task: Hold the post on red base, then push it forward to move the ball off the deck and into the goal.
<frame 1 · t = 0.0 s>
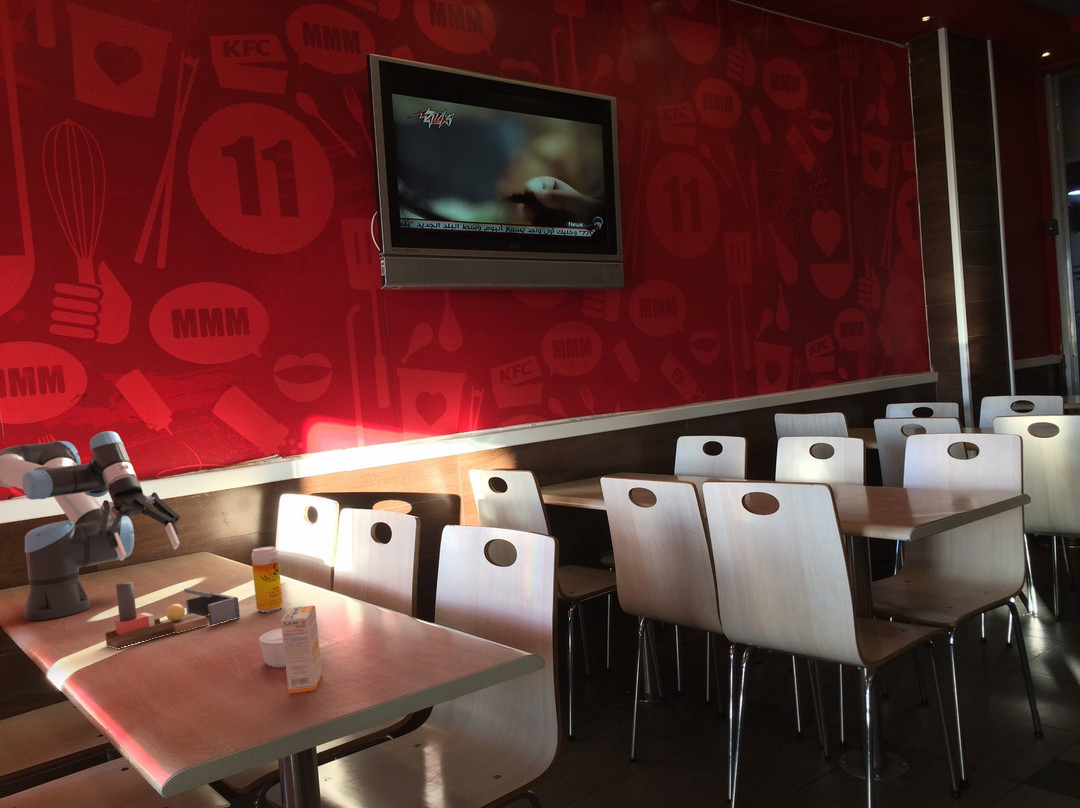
hand: (150, 552, 222), 15 cm above the table, tool tilted 35°, fingers open, 13 cm apart
deck: (184, 627, 204), on the table
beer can: (270, 610, 214), on the table
rail: (139, 640, 197), on the table
goal: (213, 619, 210), on the table
post on red base: (133, 606, 196), point 8 cm above the table, slide at 0.0 cm
supplement box: (305, 686, 156), on the table
ramekin: (290, 661, 172), on the table
ball: (175, 612, 203), point 4 cm above the table, touching deck
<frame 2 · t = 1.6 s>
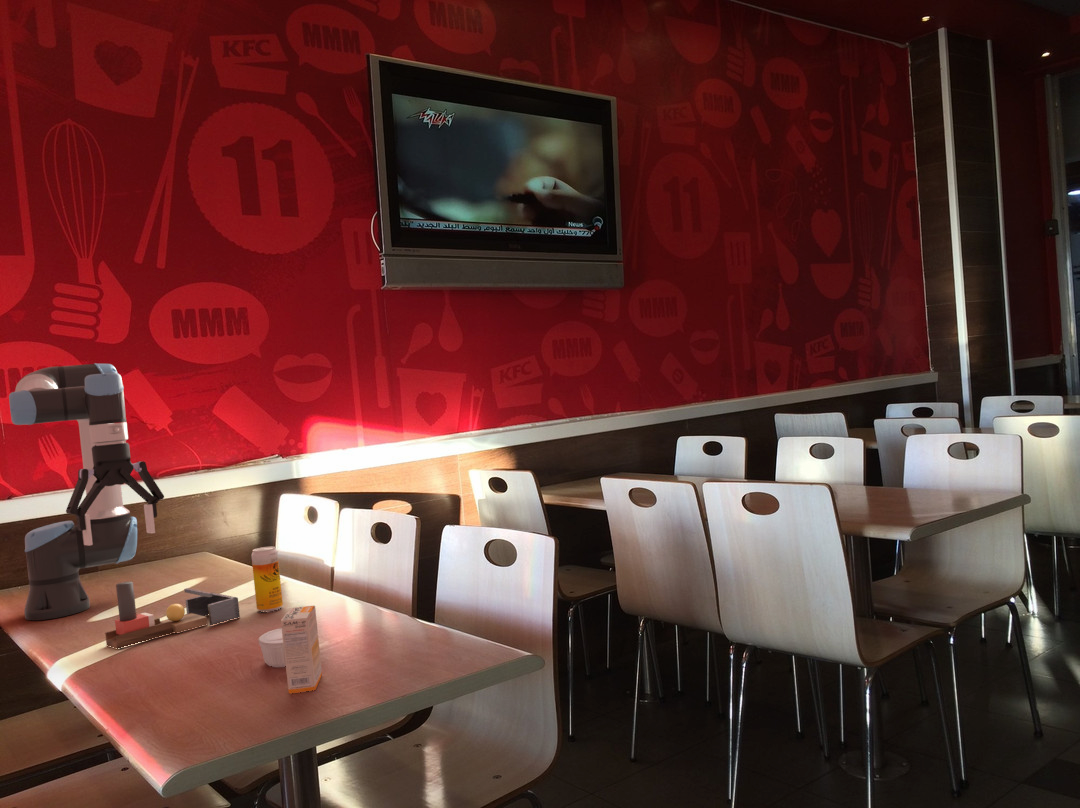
hand: (120, 539, 195), 23 cm above the table, tool pointing down, fingers open, 13 cm apart
nothing on the table moved.
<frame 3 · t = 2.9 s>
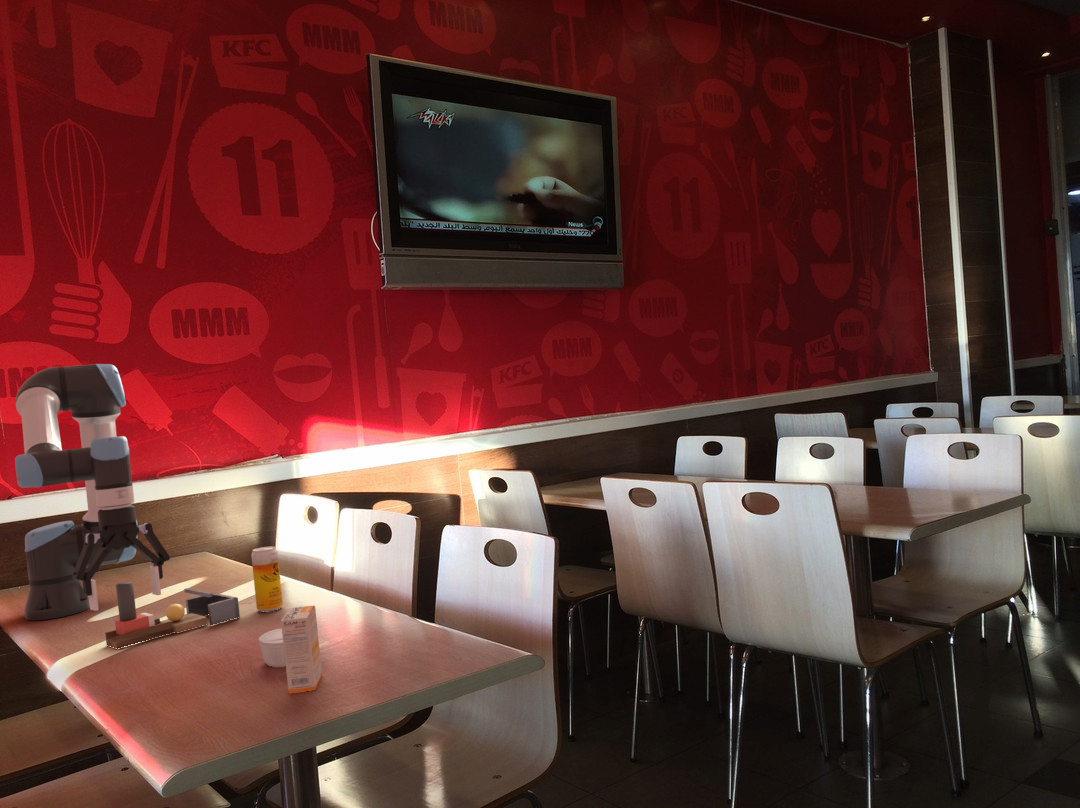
hand: (126, 602, 195), 9 cm above the table, tool pointing down, fingers open, 13 cm apart
nothing on the table moved.
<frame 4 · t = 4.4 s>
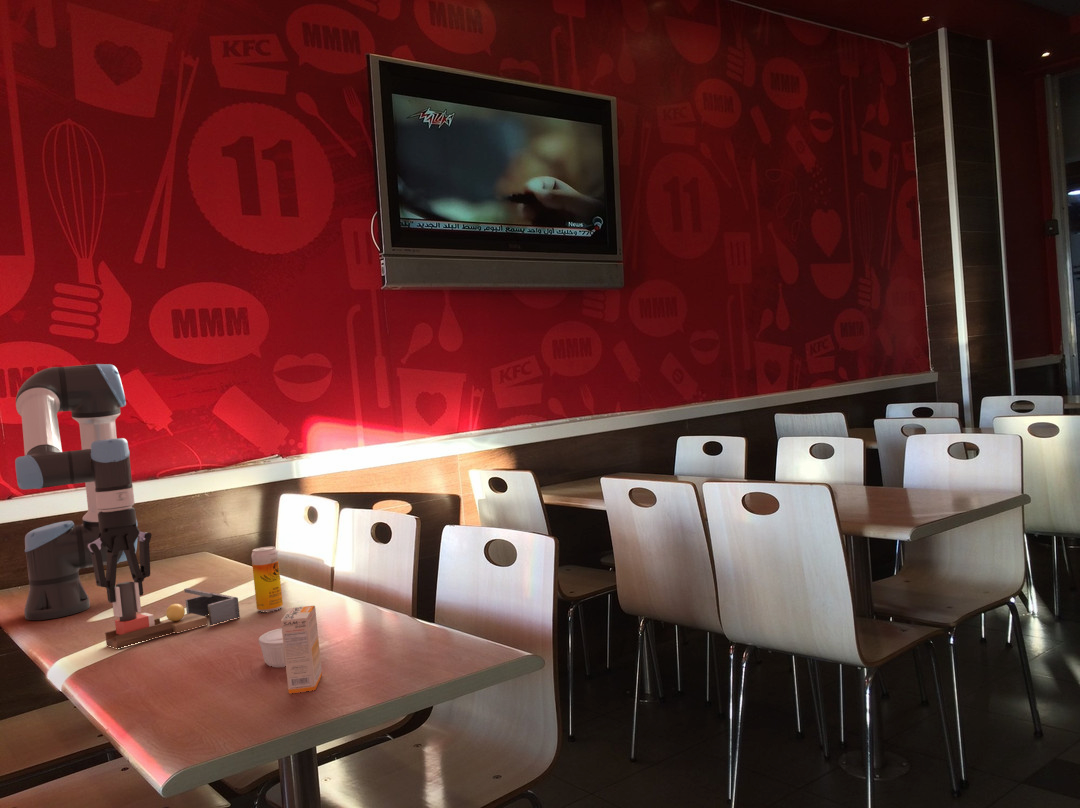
hand: (127, 613, 195), 7 cm above the table, tool pointing down, fingers closed on post on red base, 3 cm apart
post on red base: (133, 606, 196), point 8 cm above the table, slide at 0.0 cm, touching gripper
everything else where it was.
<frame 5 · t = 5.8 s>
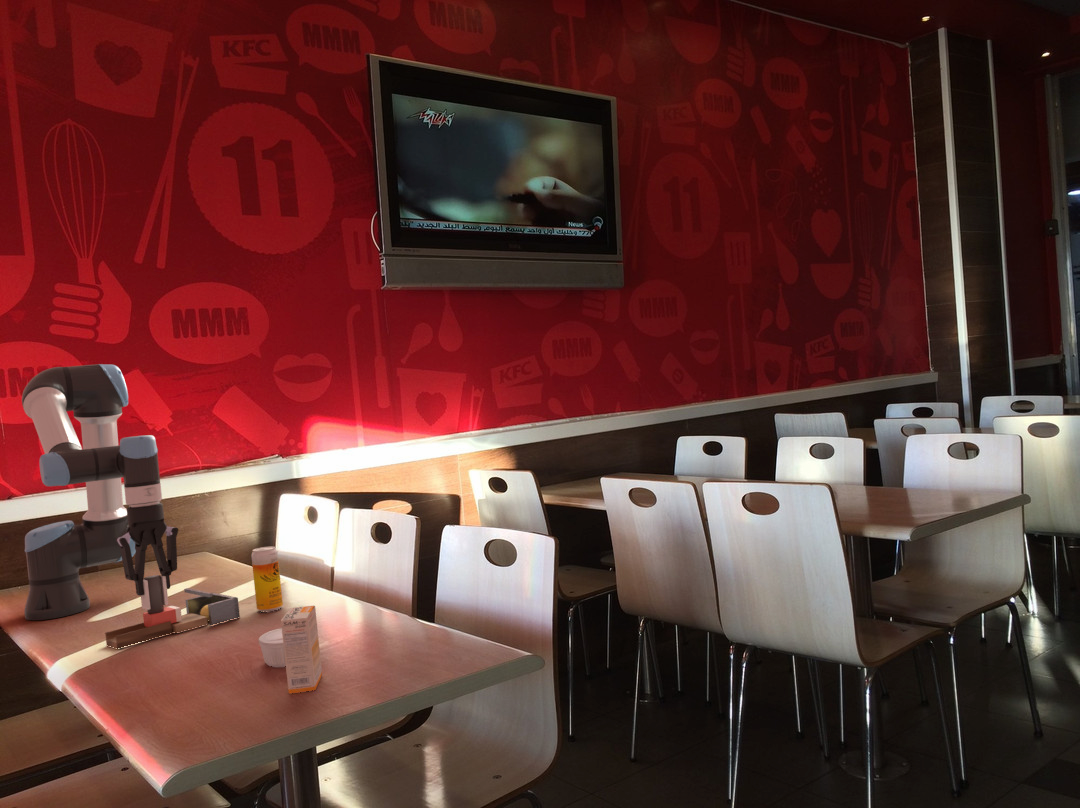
hand: (155, 606, 200), 7 cm above the table, tool pointing down, fingers closed on post on red base, 3 cm apart
post on red base: (160, 599, 201), point 8 cm above the table, slide at 6.2 cm, touching gripper
ball: (209, 613, 209), point 2 cm above the table, tilted 141°
everything else where it was.
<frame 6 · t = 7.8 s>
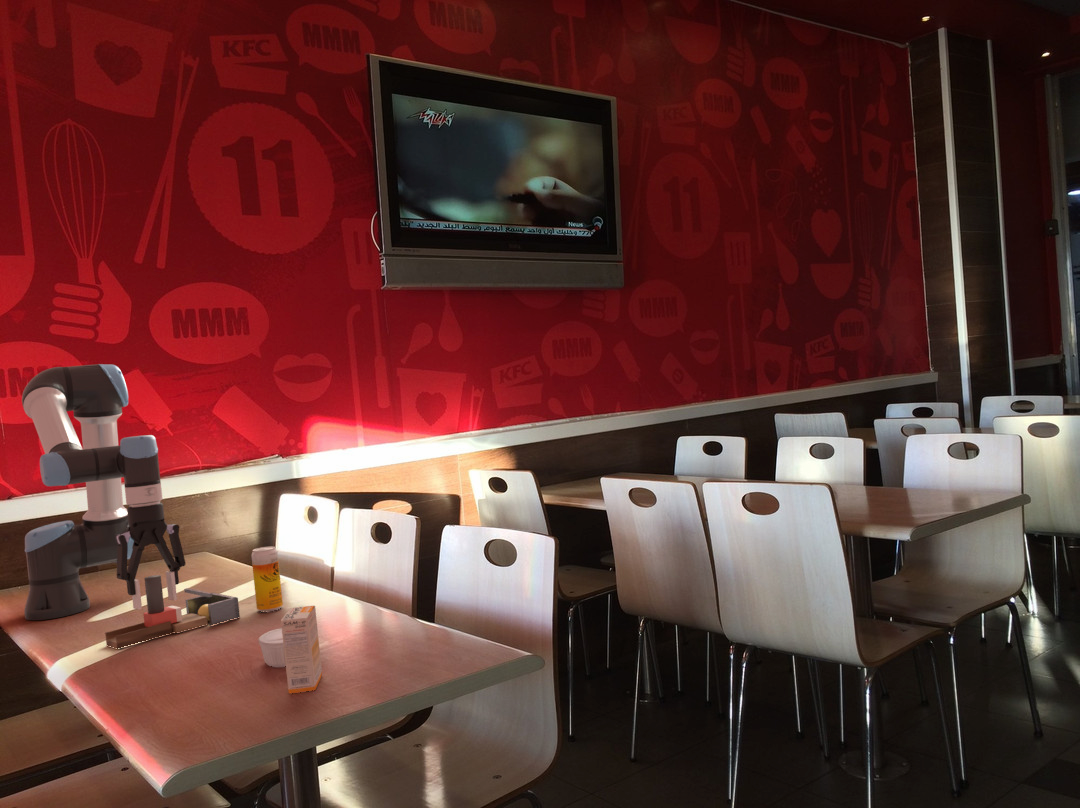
hand: (155, 603, 200), 7 cm above the table, tool pointing down, fingers open, 7 cm apart
post on red base: (161, 599, 201), point 8 cm above the table, slide at 6.3 cm
ball: (206, 612, 209), point 2 cm above the table, tilted 148°
everything else where it was.
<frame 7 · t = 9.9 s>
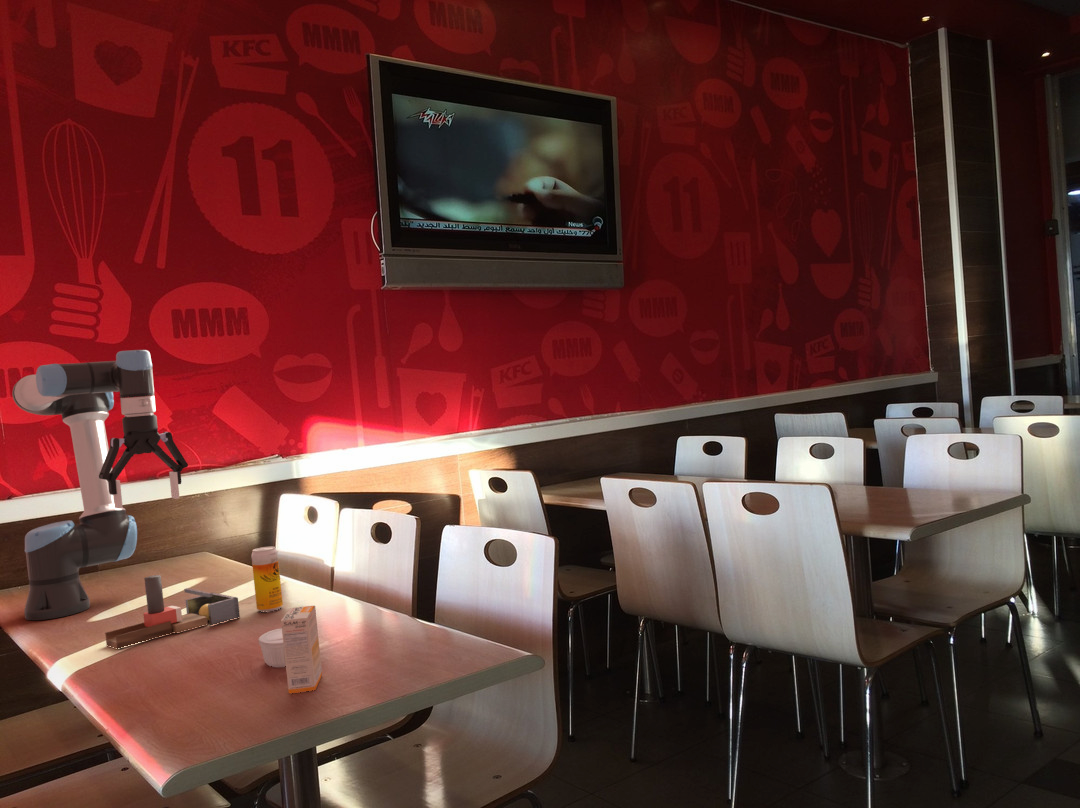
hand: (147, 503, 211), 29 cm above the table, tool pointing down, fingers open, 13 cm apart
ball: (207, 612, 209), point 2 cm above the table, tilted 140°
everything else where it was.
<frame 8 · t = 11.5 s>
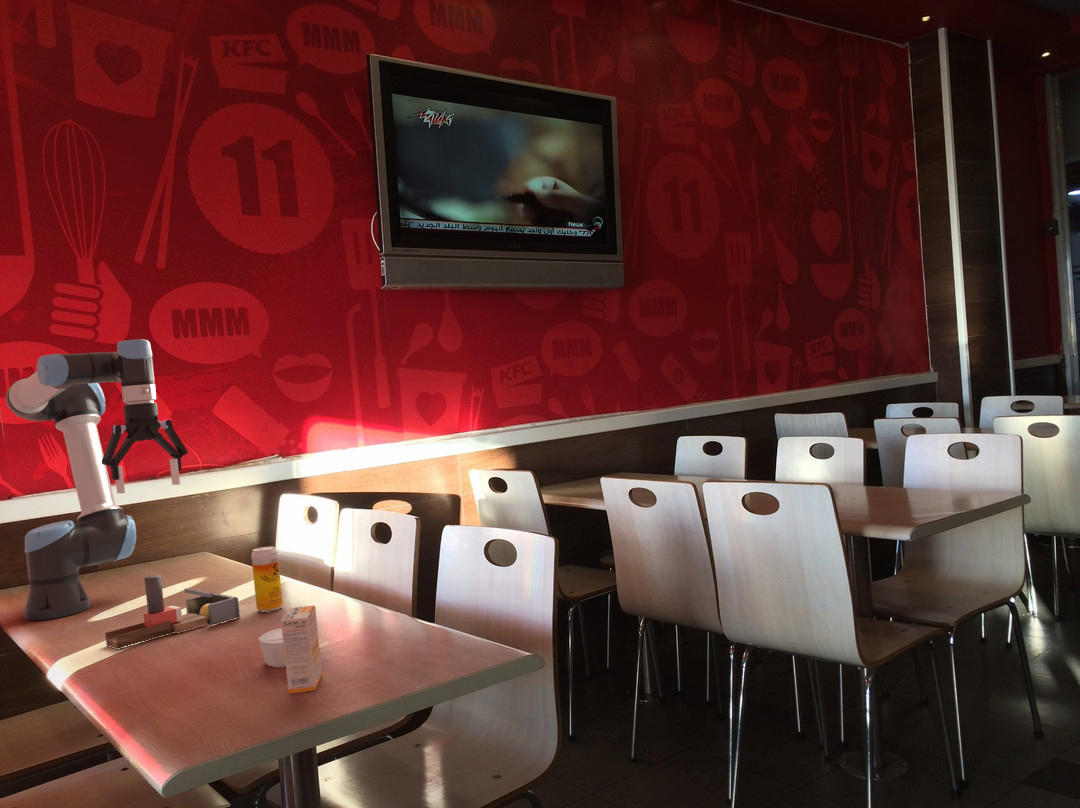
hand: (149, 488, 217), 32 cm above the table, tool pointing down, fingers open, 13 cm apart
ball: (208, 612, 209), point 2 cm above the table, tilted 134°
everything else where it was.
at the end: ball inside the target area (1.4 cm from its centre), point 2.0 cm above the table; post on red base slide at 6.3 cm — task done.
